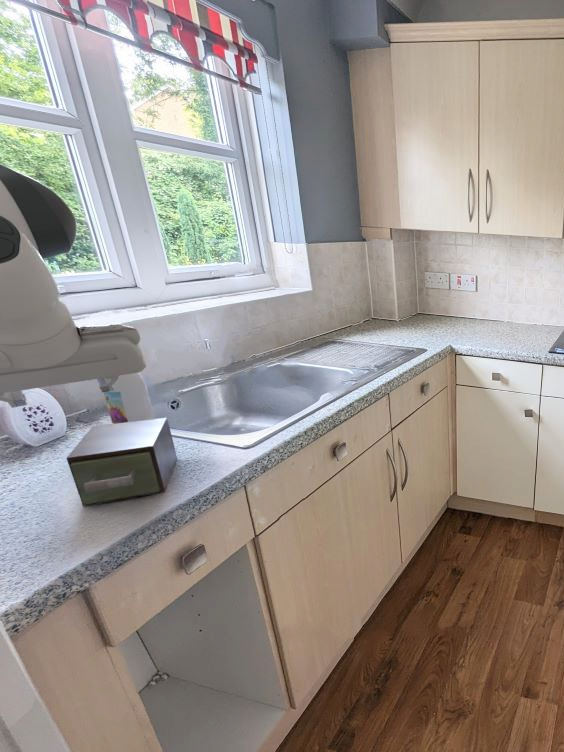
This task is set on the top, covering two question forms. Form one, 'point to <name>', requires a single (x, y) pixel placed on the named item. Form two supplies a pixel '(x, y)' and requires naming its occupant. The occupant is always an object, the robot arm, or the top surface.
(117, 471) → the drawer
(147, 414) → the milk bottle
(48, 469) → the top surface
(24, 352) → the robot arm
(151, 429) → the cabinet
